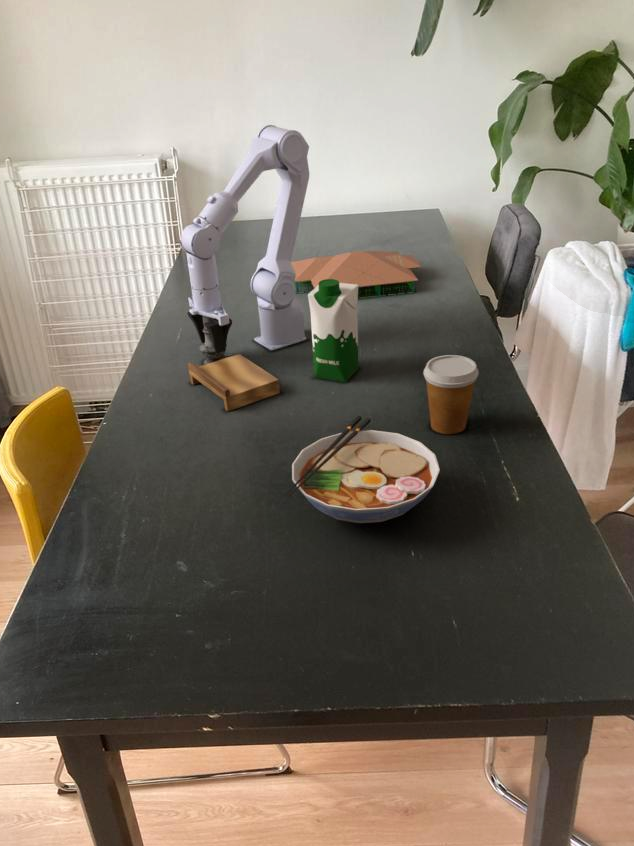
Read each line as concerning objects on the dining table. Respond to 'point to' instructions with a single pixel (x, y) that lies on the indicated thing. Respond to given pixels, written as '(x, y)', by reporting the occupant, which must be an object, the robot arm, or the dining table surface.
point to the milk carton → (334, 329)
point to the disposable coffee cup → (450, 391)
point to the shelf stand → (235, 381)
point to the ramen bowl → (365, 474)
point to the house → (358, 269)
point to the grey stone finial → (210, 346)
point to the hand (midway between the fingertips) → (213, 346)
